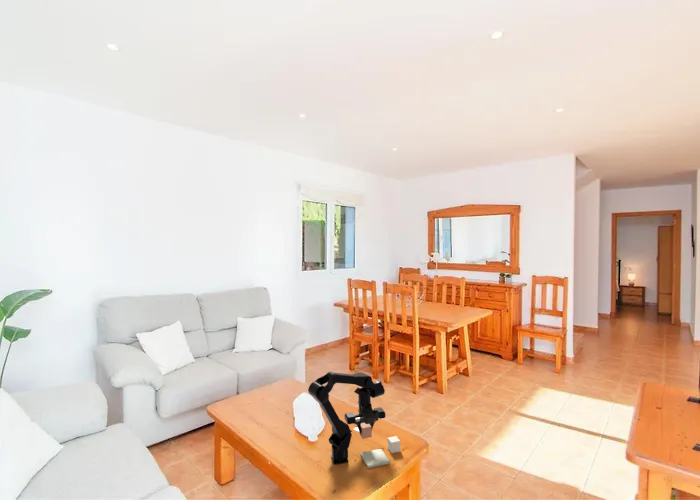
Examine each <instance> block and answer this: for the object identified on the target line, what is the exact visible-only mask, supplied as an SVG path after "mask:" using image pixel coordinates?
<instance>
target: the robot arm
mask: <svg viewBox="0 0 700 500" xmlns="http://www.w3.org/2000/svg"><path fill="white" fill-rule="evenodd" d="M325 384H326V385H325ZM336 384H343V385H344V384H345V385H355V386H358V387H357V388H356V389H355V390H354V394H356V395H357V398H358V401H357V404H358V409H357V412H358V413H356V414H355V413H354V412H352V411H351V412H345V414H344V421H343V420H342V419H340V418H339V416H338V414H337V412H336V410H335V409H334V406H333V405H332V403H331V401H330V392H331V391H332V390H333V388H334V386H335V385H336ZM324 385H325V386H324ZM307 391H308V394H309V395H310V397H312V398H313V399H314V400H315V401H316V402H317V403H318V404H319V406H320V408H321V410H322V411H323V413H324V415H325V416H326V418H327V420H328V422H329V424H330V425H331V432H332V433H331V434H330V436H329V438H328V443H329V444H330V445H331V455H330V458H331V460H332V463H333V465H339V464H344V463H348V462H349V459H348V458H349V447H350V444H351V439H352V437H353V434H352V431H353V430H351V428H350V425H352V424H354V425H356V426H357V427H358V430H359V431H358V432H359V435H360V436H361V422H360V418H363V419H364V422H365V424H370V425H371V430H372V431H373V428H374V426H375V423H376V422H377V421H379V419H380V420H381V419H385V418H386V411H385V410H384V409H383V408H382V407H374V408H373V406H372V405H373V404H372V403H371V402H372V401H371V400H372V399H376V398H378V397H380V396H383V395H385V391H386V390H385V387H384V386H383V383H382V381H380V380H377V381H373V378H372V376H370V375H368V374H366V373H364V372H355V373H354V374H352V373H351V374H350V373H344V372H343V373H342V372H334V371H328V372H327V373H325V375H323V376H320V377H318V378H317V379H315V380H314V382H311V383H310V385H309V386H308V389H307Z"/></svg>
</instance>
